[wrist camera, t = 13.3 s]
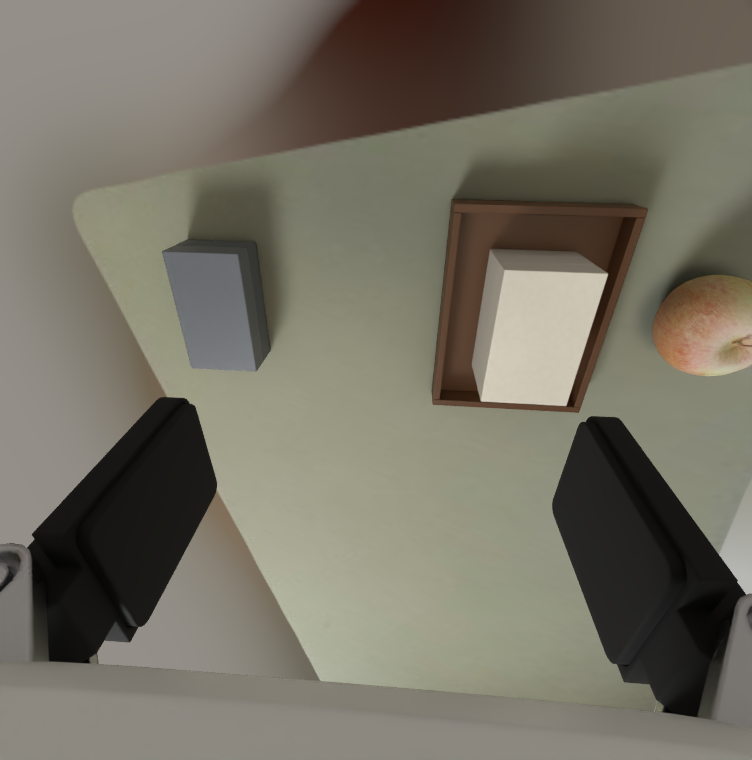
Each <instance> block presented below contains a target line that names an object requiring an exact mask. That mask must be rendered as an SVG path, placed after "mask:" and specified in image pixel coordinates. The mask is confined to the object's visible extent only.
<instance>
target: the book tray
mask: <svg viewBox="0 0 752 760" xmlns="http://www.w3.org/2000/svg"><path fill="white" fill-rule="evenodd" d="M647 211H648V209H647V208H644V207H641V206H638V205H634V204H615V203H578V202H541V201H504V200H467V199H452V201H451V210H450V220H449V230H448V239H447V249H446V258H445V268H444V278H443V287H442V297H441V306H440V316H439V326H438V335H437V345H436V354H435V364H434V374H433V383H432V401H433V405H449V406H467V407H485V408H503V409H522V410H540V411H558V412H576V413H579V411H580V407H581V405H582V402H583V399H584V396H585V393H586V391H587V388H588V385H589V382H590V379H591V376H592V373H593V370H594V367H595V364H596V361H597V358H598V355H599V352H600V349H601V347H602V344H603V341H604V338H605V335H606V332H607V329H608V326H609V323H610V320H611V317H612V314H613V311H614V308H615V306H616V303H617V300H618V297H619V294H620V291H621V288H622V285H623V282H624V279H625V276H626V273H627V270H628V267H629V264H630V262H631V259H632V256H633V253H634V250H635V247H636V244H637V241H638V238H639V235H640V232H641V229H642V226H643V223H644V220H645V217H646V214H647ZM490 249H513V250H543V251H573V252H577V253H579V254H580V255H582V256H583V257H585V258H586V259H588V260H589V261H591V262H592V263H594V264H595V265H596V266H598V267H599V268H601V269H602V270H604V271H605V272H607V273H608V276H607V280H606V283H605V286H604V289H603V292H602V295H601V298H600V302H599V305H598V308H597V311H596V314H595V317H594V320H593V324H592V327H591V330H590V333H589V336H588V339H587V343H586V346H585V349H584V352H583V355H582V358H581V361H580V365H579V368H578V371H577V374H576V377H575V380H574V383H573V387H572V390H571V393H570V396H569V399H568V402H567V406H556V405H537V404H519V403H500V402H482V401H481V400H480V396H479V393H478V389H477V384H476V380H475V376H474V372H473V368H472V359H473V353H474V347H475V340H476V334H477V328H478V322H479V315H480V309H481V303H482V296H483V290H484V284H485V277H486V271H487V265H488V259H489V252H490Z"/></svg>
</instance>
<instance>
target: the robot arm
mask: <svg viewBox="0 0 752 760" xmlns="http://www.w3.org/2000/svg"><path fill="white" fill-rule="evenodd" d="M216 489H217V481H216V477H215V473H214V470H213V466H212V463H211V459H210V456H209V453H208V449H207V446H206V442H205V439H204V435H203V432H202V428H201V425H200V421H199V418H198V414H197V411H196V408H195V406H194V405H192V404H189V401H188V400H187V399H185V398H171V397H162V398H159V399H158V400H156V401H155V403H154V404H153V405H152V406H151V407H150V408H149V409H148V410H147V411H146V412H145V413H144V414H143V415H142V417H141V418H140V419H139V420H138V421H137V422H136V423H135V424H134V425H133V426H132V427H131V428H130V429H129V430H128V432H127V433H126V434H125V435H124V436H123V437H122V438H121V439H120V440H119V441H118V442H117V443H116V445H115V446H114V447H113V448H112V449H111V450H110V451H109V452H108V453H107V454H106V455H105V457H103V459H102V460H101V461H100V462H99V463H98V464H97V465H96V466H95V467H94V468H93V469H92V470H91V471H90V472H89V473H88V475H87V476H86V477H85V478H84V479H83V480H82V481H81V482H80V483H79V484H78V485H77V486H76V487H75V488H74V490H73V491H72V492H71V493H70V494H69V495H68V496H67V497H66V498H65V499H64V500H63V501H62V503H61V504H60V505H59V506H58V507H57V508H56V509H55V510H54V511H53V512H52V513H51V514H50V515H49V516H48V518H47V519H46V520H45V521H44V522H43V523H42V524H41V525H40V526H39V527H38V528H37V530H35V531H34V533H33V534H32V536H33V537H34V539H35V540H34V541H33V542H32V543H31V544H30V545H29V546H28V547H27V548H26V547H25V546H23V545H20V544H14V543H9V544H1V545H0V760H752V594H748V595H746V594H745V592H744V591H743V590H742V588H741V587H740V585H739V584H738V583H737V581H738V580H737V579H736V578H735V576H734V575H733V574H732V572H731V571H730V569H729V568H728V567H727V565H726V564H725V563H724V561H723V560H722V558H721V557H720V556H719V554H718V553H717V552H716V550H715V549H714V547H713V546H712V545H711V543H710V542H709V541H708V539H707V538H706V536H705V535H704V534H703V532H702V531H701V530H700V528H699V527H698V526H697V524H696V523H695V521H694V520H693V519H692V517H691V516H690V515H689V513H688V512H687V510H686V509H685V508H684V506H683V505H682V504H681V502H680V501H679V499H678V498H677V497H676V495H675V494H674V493H673V491H672V490H671V488H670V487H669V486H668V484H667V483H666V482H665V480H664V479H663V477H662V476H661V475H660V473H659V472H658V471H657V469H656V468H655V466H654V465H653V464H652V462H651V461H650V460H649V458H648V457H647V456H646V454H645V453H644V451H643V450H642V449H641V447H640V446H639V445H638V443H637V442H636V440H635V439H634V438H633V436H632V435H631V434H630V432H629V431H628V429H627V428H626V427H625V425H624V424H623V423H622V421H621V420H620V419H619V418H616V417H597V416H591V417H589V418H588V419H587V421H586V422H581V423H580V424H579V426H578V429H577V431H576V434H575V437H574V440H573V443H572V446H571V449H570V452H569V455H568V458H567V461H566V463H565V466H564V469H563V472H562V475H561V478H560V481H559V484H558V487H557V490H556V493H555V495H554V498H553V503H552V509H553V514H554V517H555V520H556V523H557V525H558V528H559V531H560V533H561V536H562V539H563V541H564V544H565V547H566V549H567V552H568V555H569V557H570V560H571V563H572V565H573V568H574V571H575V573H576V576H577V579H578V581H579V584H580V587H581V589H582V592H583V595H584V597H585V600H586V603H587V605H588V608H589V611H590V613H591V616H592V619H593V621H594V624H595V627H596V629H597V632H598V635H599V637H600V640H601V643H602V645H603V648H604V651H605V653H606V655H607V657H608V659H609V660H610V662H612V663H613V664H617V665H618V668H619V671H620V673H621V676H622V678H623V681H624V682H628V683H640V684H650V686H651V689H652V691H653V693H654V696H655V698H656V700H657V701H658V703H657V706H656V709H655V712H652V711H643V710H633V709H624V708H615V707H606V706H596V705H587V704H578V703H567V702H555V701H544V700H533V699H522V698H510V697H499V696H488V695H477V694H465V693H454V692H443V691H431V690H420V689H408V688H396V687H384V686H372V685H360V684H348V683H336V682H324V681H312V680H300V679H288V678H276V677H264V676H251V675H238V674H225V673H213V672H200V671H187V670H173V669H161V668H149V667H135V666H119V665H102V664H98V656H97V652H98V650H99V648H100V647H101V645H102V643H103V642H104V640H105V641H118V642H130V641H131V640H132V638H133V636H134V634H135V632H136V630H137V629H138V627H141V626H143V625H145V623H146V622H147V621H148V620H149V618H150V616H151V614H152V613H153V611H154V609H155V607H156V605H157V603H158V601H159V599H160V597H161V596H162V593H163V592H164V590H165V588H166V586H167V584H168V582H169V580H170V578H171V577H172V575H173V573H174V571H175V569H176V567H177V565H178V564H179V562H180V560H181V558H182V556H183V554H184V552H185V550H186V548H187V547H188V545H189V543H190V541H191V539H192V537H193V535H194V533H195V531H196V529H197V527H198V526H199V524H200V522H201V520H202V518H203V516H204V515H205V513H206V511H207V509H208V507H209V505H210V503H211V501H212V499H213V498H214V495H215V493H216Z"/></svg>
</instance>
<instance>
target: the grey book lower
mask: <svg viewBox="0 0 752 760" xmlns="http://www.w3.org/2000/svg"><path fill="white" fill-rule="evenodd" d="M177 245H183V246H212V247H241V248H247V251H248V258H249V265H250V271H251V278H252V285H253V292H254V299H255V305H256V312H257V319H258V326H259V333H260V340H261V346H262V353H263V360H264V359H265V358H266V356H267V355H268V353H269V352H270V345H269V337H268V330H267V323H266V315H265V308H264V300H263V293H262V286H261V278H260V271H259V263H258V256H257V248H256V242H244V241H214V240H185V241H183V242H181V243H179V244H177Z"/></svg>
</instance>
